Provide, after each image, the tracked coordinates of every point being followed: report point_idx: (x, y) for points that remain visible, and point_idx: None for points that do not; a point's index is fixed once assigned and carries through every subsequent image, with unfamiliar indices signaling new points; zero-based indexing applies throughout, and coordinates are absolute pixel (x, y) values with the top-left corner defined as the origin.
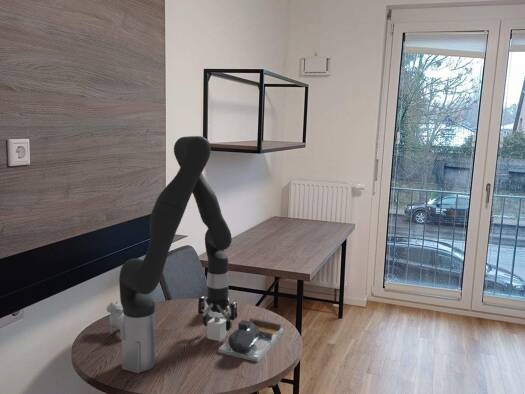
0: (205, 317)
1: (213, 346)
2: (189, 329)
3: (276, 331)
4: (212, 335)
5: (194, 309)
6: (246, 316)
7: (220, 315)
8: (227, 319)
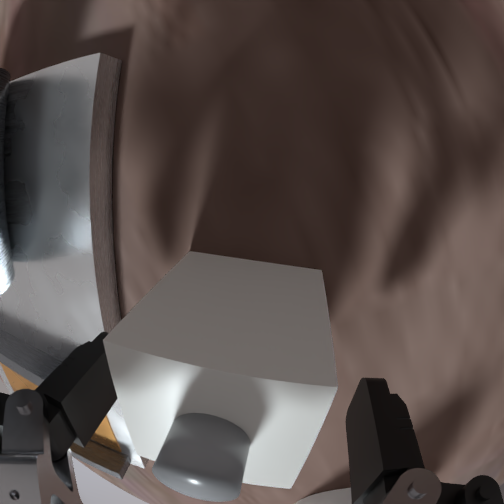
0: (389, 461)
1: (198, 134)
2: (478, 354)
3: (8, 380)
4: (259, 279)
5: None
6: None
7: (318, 500)
8: (23, 404)
